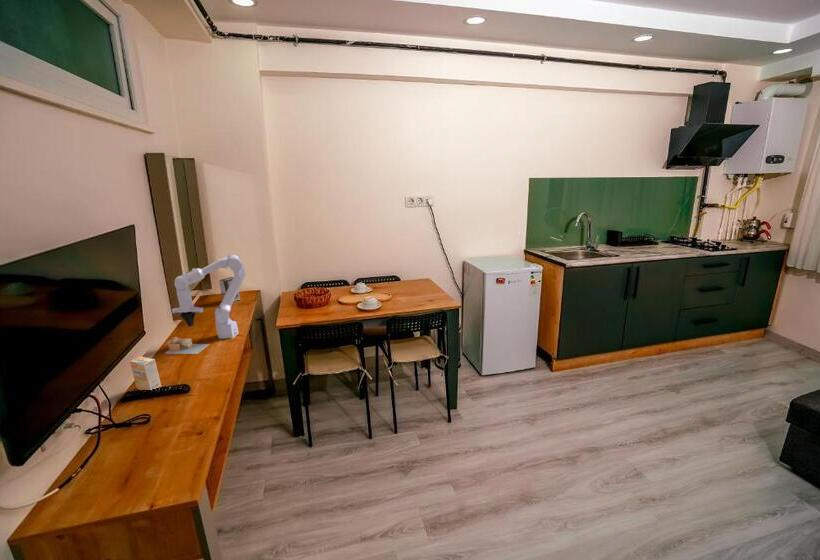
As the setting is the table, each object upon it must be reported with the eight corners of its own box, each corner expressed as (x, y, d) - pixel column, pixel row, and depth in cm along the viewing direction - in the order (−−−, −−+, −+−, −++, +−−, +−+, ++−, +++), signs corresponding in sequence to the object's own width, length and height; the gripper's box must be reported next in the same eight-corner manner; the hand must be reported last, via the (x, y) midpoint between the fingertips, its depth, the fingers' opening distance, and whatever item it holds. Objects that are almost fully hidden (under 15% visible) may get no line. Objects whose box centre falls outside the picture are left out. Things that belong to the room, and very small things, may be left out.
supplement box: (136, 390, 150) (128, 361, 147) (148, 383, 155) (140, 355, 151) (151, 393, 148) (143, 364, 144) (162, 387, 152) (155, 358, 148)
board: (210, 345, 187) (210, 344, 187) (198, 355, 178) (197, 353, 178) (178, 345, 189) (178, 343, 188) (164, 354, 179) (164, 353, 179)
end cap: (187, 344, 187) (185, 336, 186) (179, 350, 181) (177, 342, 180) (177, 344, 187) (175, 336, 186) (168, 350, 182) (166, 342, 180)
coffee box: (228, 304, 244) (224, 281, 240) (222, 303, 248) (218, 280, 243) (240, 300, 252) (236, 277, 247) (234, 299, 255) (230, 276, 250)
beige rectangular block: (192, 345, 186) (191, 338, 185) (188, 348, 183) (187, 341, 182) (177, 345, 186) (175, 338, 185) (173, 348, 184) (171, 341, 182)
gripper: (204, 297, 187) (209, 322, 191) (175, 297, 187) (181, 322, 191) (196, 301, 180) (201, 327, 184) (166, 302, 180) (172, 328, 184)
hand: (190, 325), depth 187 cm, fingers closed
